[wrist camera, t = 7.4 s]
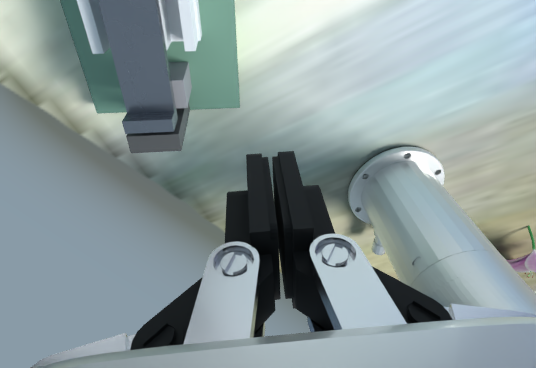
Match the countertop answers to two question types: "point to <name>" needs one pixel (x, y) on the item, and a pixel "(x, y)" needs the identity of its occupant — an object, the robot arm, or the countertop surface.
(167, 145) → the base
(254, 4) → the countertop surface
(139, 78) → the thin grey bar
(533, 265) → the lily
